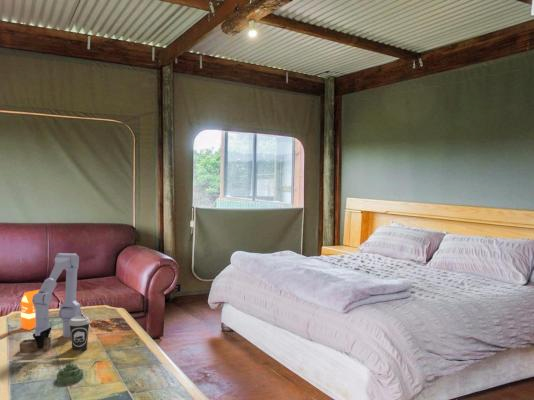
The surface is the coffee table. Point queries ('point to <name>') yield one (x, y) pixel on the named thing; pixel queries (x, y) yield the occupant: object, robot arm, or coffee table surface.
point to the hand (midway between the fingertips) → (42, 346)
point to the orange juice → (28, 310)
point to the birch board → (39, 352)
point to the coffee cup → (79, 332)
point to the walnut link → (34, 345)
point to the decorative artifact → (69, 374)
